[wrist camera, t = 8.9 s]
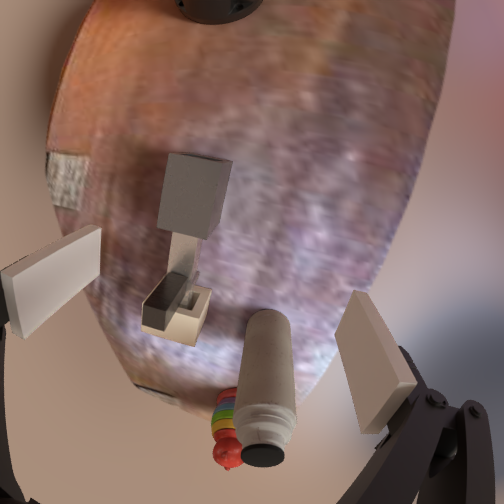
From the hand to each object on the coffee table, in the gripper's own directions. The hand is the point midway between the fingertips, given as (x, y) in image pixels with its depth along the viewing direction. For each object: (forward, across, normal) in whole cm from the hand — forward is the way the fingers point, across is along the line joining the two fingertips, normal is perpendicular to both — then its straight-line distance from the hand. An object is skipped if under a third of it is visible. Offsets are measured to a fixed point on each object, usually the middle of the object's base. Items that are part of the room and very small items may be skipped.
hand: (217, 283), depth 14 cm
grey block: (+33, -8, -1) cm, 34 cm away
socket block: (+33, -8, -21) cm, 40 cm away
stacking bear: (+33, +7, -45) cm, 56 cm away
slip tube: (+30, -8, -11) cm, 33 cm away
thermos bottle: (+33, +8, -23) cm, 41 cm away
